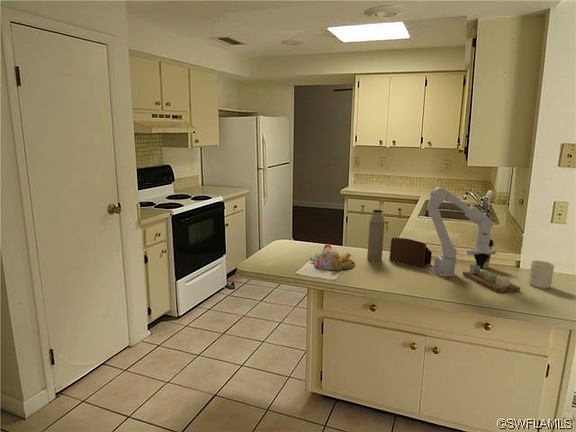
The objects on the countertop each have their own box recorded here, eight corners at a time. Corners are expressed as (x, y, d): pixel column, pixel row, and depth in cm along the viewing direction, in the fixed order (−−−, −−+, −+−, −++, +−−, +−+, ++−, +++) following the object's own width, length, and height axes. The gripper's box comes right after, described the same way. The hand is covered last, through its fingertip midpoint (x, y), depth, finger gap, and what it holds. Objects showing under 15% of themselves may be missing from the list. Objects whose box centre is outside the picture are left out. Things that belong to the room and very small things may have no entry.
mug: (554, 290, 182) (558, 266, 180) (534, 288, 183) (537, 265, 181) (540, 281, 194) (543, 259, 192) (521, 280, 194) (524, 258, 193)
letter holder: (423, 268, 209) (426, 242, 207) (388, 261, 222) (390, 236, 219) (430, 265, 217) (433, 239, 214) (396, 257, 229) (398, 233, 227)
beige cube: (501, 287, 178) (502, 280, 178) (495, 284, 182) (496, 277, 181) (509, 287, 179) (510, 279, 178) (502, 284, 183) (503, 276, 182)
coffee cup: (492, 269, 211) (496, 242, 208) (475, 268, 212) (478, 240, 210) (488, 265, 219) (491, 238, 216) (471, 264, 221) (474, 237, 218)
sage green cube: (489, 283, 186) (489, 276, 185) (483, 280, 190) (484, 273, 189) (496, 283, 187) (497, 275, 186) (490, 280, 191) (491, 273, 190)
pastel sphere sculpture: (362, 265, 212) (364, 248, 210) (337, 274, 195) (338, 256, 193) (324, 255, 228) (325, 240, 227) (298, 263, 211) (299, 246, 209)
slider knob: (474, 274, 193) (475, 266, 193) (469, 272, 197) (470, 264, 196) (479, 274, 194) (480, 266, 193) (474, 271, 197) (475, 264, 197)
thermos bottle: (379, 257, 227) (383, 209, 222) (383, 261, 219) (386, 211, 214) (365, 257, 227) (369, 208, 222) (368, 261, 219) (372, 210, 214)
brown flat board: (496, 292, 176) (497, 288, 175) (462, 275, 199) (463, 271, 198) (519, 291, 178) (520, 286, 178) (483, 274, 201) (484, 270, 201)
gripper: (474, 243, 188) (471, 271, 190) (501, 243, 191) (498, 270, 193) (465, 240, 195) (462, 267, 197) (491, 239, 198) (488, 266, 200)
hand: (479, 268), depth 195 cm, fingers closed
